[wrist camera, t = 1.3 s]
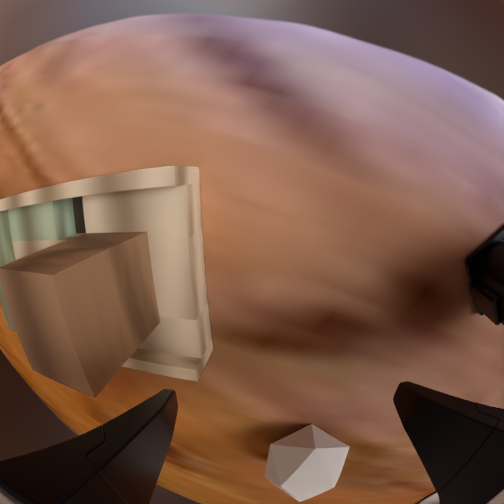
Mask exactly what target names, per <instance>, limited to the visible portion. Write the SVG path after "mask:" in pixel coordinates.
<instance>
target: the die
mask: <svg viewBox="0 0 504 504" xmlns="http://www.w3.org/2000/svg"><path fill="white" fill-rule="evenodd" d="M348 450H349V446H347V445H346V444H344V443H342V442H340V441H339V440H337V439H335V438H334V437H332V436H331V435H329V434H327V433H326V432H324V431H323V430H321V429H319V428H318V427H316V426H315V425H313V424H310V425H308V426H306V427H304V428H302V429H300V430H299V431H297V432H295V433H293V434H291V435H289V436H287V437H284V438H282V439H280V440H278V441H276V442H274V443H272V444H270V448H269V454H268V459H267V465H266V470H265V476H264V477H265V478H266V479H268V480H269V481H270V482H272V483H273V484H274V485H276V486H277V487H278V488H280V489H281V490H283V491H284V492H286V493H287V494H288V495H290V496H291V497H293V498H294V499H296V500H297V501H299V502H301V501H304V500H306V499H309V498H311V497H313V496H316V495H318V494H320V493H323V492H325V491H327V490H329V489H332V488H334V487H335V485H336V483H337V481H338V479H339V476H340V473H341V471H342V468H343V465H344V462H345V459H346V456H347V453H348Z"/></svg>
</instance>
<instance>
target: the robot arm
mask: <svg viewBox="0 0 504 504" xmlns="http://www.w3.org/2000/svg"><path fill="white" fill-rule="evenodd" d="M471 260H472V262H471V264H470V261H471ZM465 263H466V267H467V271H468V274H469V278H470V289H471V293H472V297H473V302H474V305H475V306H476V308H477V312H478V313H479V314H480V315H483V314H485V315H486V316H487V317H488V318H489V319H490V320H491V321H492V322H493V323H494V324H495V325H499V324H500V323H502V324H503V325H504V227H503V228H501V229H500V230H499V231H498V232H497V233H496V234H495V235H494V236H492V237H491V238H490V239H489V240H488V241H487V242H485V243H484V244H483V245H482V246H481V247H479V248H478V249H477V250H476V251H475V252H473V253H472V254H471V255H470V256H468V257H467V259H466V262H465ZM393 401H394V404H395V407H396V409H397V412H398V414H399V417H400V420H401V422H402V425H403V427H404V429H405V431H406V433H407V434H408V436H409V438H410V440H411V442H412V444H413V446H414V448H415V450H416V451H417V453H418V455H419V457H420V459H421V461H422V463H423V465H424V467H425V469H426V471H427V473H428V475H429V477H430V479H431V481H432V483H433V485H434V487H435V489H436V492H437V494H438V496H439V504H504V409H501V408H496V407H491V406H487V405H483V404H479V403H476V402H475V403H474V402H471V401H468V400H464V399H461V398H458V397H454V396H451V395H448V394H445V393H442V392H439V391H435V390H432V389H429V388H426V387H423V386H420V385H418V384H415V383H412V382H408V381H407V382H402V383H400V384H399V386H398V388H397V390H396V393H395V395H394V398H393ZM177 411H178V403H177V398H176V392H175V391H174V390H170V389H164V390H162V391H160V392H159V393H157V394H156V395H154V396H152V397H151V398H149V399H147V400H146V401H144V402H142V403H140V404H139V405H137V406H135V407H134V408H132V409H130V410H128V411H127V412H125V413H123V414H121V415H119V416H118V417H116V418H114V419H112V420H110V421H109V422H107V423H105V424H103V426H102V425H101V426H99V427H97V428H95V429H93V430H91V431H89V432H87V433H85V434H82V435H80V436H77V437H75V438H72V439H70V440H67V441H64V442H61V443H58V444H56V445H53V446H50V447H47V448H44V449H41V450H38V451H34V452H31V453H27V454H24V455H20V456H17V457H13V458H9V459H6V460H1V461H0V504H149V503H150V500H151V497H152V494H153V491H154V488H155V485H156V483H157V480H158V477H159V474H160V471H161V468H162V466H163V463H164V460H165V457H166V454H167V452H168V449H169V446H170V443H171V440H172V436H173V431H174V426H175V421H176V416H177Z"/></svg>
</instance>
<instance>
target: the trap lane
mask: <svg viewBox="0 0 504 504" xmlns="http://www.w3.org/2000/svg"><path fill="white" fill-rule="evenodd" d="M112 232H147V234H148V243H149V252H150V260H151V267H152V274H153V281H154V288H155V294H156V300H157V306H158V312H159V317H160V323H159V324H158V325H157V327H156V328H155V329H154V330H153V331H152V332H151V333H150V335H149V336H148V337H147V338H146V339H145V340H144V341H143V343H142V344H141V345H140V346H139V347H138V348H137V349H136V351H135V352H134V353H133V354H132V355H131V356H130V358H129V359H128V360H127V361H126V362H125V363H124V365H123V366H122V367H126V368H131V369H135V370H139V371H144V372H148V373H153V374H158V375H163V376H168V377H173V378H179V379H185V380H191V381H198V380H199V378H200V376H201V374H202V372H203V369H204V367H205V365H206V363H207V361H208V359H209V357H210V355H211V353H212V351H213V345H212V336H211V328H210V318H209V309H208V299H207V288H206V277H205V265H204V252H203V238H202V222H201V205H200V184H199V167H191V166H165V167H156V168H148V169H141V170H134V171H127V172H120V173H114V174H108V175H102V176H97V177H91V178H86V179H81V180H76V181H71V182H66V183H62V184H57V185H53V186H49V187H44V188H40V189H36V190H32V191H29V192H25V193H21V194H18V195H14V196H10V197H7V198H4V199H0V267H1V266H3V265H6V264H8V263H10V262H13V261H15V260H18V259H20V258H22V257H25V256H27V255H30V254H32V253H35V252H37V251H40V250H42V249H45V248H47V247H50V246H53V245H55V244H58V243H61V242H63V241H66V240H69V239H71V238H74V237H77V236H80V235H83V234H86V233H112ZM0 301H1V305H2V308H3V311H4V314H5V317H6V320H7V323H8V325H9V328H10V329H11V330H13V331H15V332H16V328H15V325H14V323H13V320H12V317H11V314H10V311H9V308H8V305H7V301H6V298H5V294H4V291H3V287H2V283H1V280H0Z"/></svg>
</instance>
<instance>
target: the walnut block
mask: <svg viewBox="0 0 504 504" xmlns="http://www.w3.org/2000/svg"><path fill="white" fill-rule="evenodd" d="M0 280H1V283H2V287H3V291H4V294H5V298H6V301H7V305H8V308H9V311H10V314H11V317H12V320H13V323H14V325H15V328H16V331H17V333H18V336H19V339H20V341H21V344H22V346H23V348H24V351H25V353H26V355H27V358H28V360H29V362H30V364H31V366H32V369H33V370H35V371H37V372H38V373H40V374H42V375H44V376H46V377H49V378H51V379H53V380H55V381H57V382H59V383H61V384H64V385H66V386H68V387H70V388H73V389H75V390H77V391H80V392H82V393H85V394H87V395H90V396H92V397H96V396H97V395H98V394H99V393H100V392H101V390H102V389H103V388H104V387H105V386H106V384H107V383H108V382H109V381H110V380H111V379H112V377H113V376H114V375H115V374H116V373H117V372H118V370H119V369H120V368H121V367H122V366H123V365H124V363H125V362H126V361H127V360H128V359H129V358H130V356H131V355H132V354H133V353H134V352H135V351H136V349H137V348H138V347H139V346H140V345H141V344H142V343H143V341H144V340H145V339H146V338H147V337H148V336H149V335H150V333H151V332H152V331H153V330H154V329H155V328H156V327H157V325H158V324H159V323H160V317H159V312H158V306H157V300H156V294H155V288H154V281H153V274H152V267H151V260H150V252H149V243H148V234H147V232H112V233H86V234H83V235H80V236H77V237H74V238H71V239H69V240H66V241H63V242H61V243H58V244H55V245H53V246H50V247H47V248H45V249H42V250H40V251H37V252H35V253H32V254H30V255H27V256H25V257H22V258H20V259H18V260H15V261H13V262H10V263H8V264H6V265H3V266H1V267H0Z"/></svg>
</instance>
